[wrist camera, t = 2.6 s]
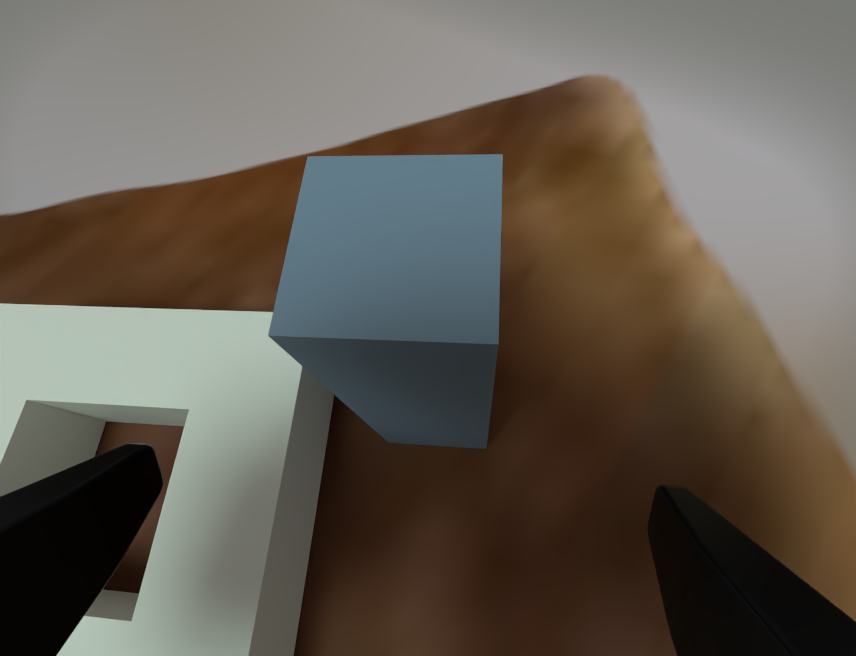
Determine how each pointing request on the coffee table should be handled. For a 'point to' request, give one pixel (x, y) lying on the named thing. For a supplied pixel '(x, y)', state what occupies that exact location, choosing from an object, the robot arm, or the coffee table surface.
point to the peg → (398, 291)
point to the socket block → (178, 464)
